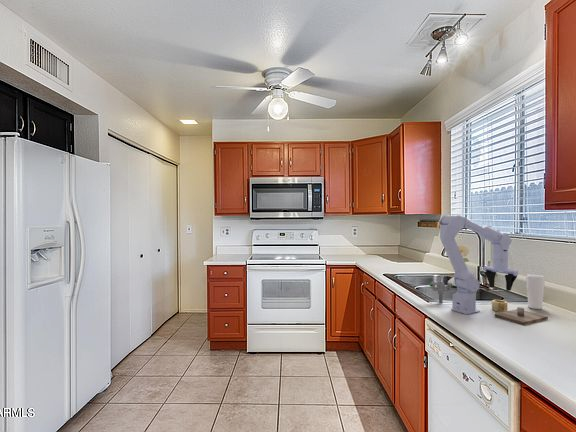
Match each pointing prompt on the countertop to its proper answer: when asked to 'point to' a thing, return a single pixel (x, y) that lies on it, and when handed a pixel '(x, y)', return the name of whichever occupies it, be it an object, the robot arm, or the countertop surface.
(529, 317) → the hub board
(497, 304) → the brass collar
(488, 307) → the countertop surface
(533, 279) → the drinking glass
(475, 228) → the robot arm
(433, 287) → the mechanical component
